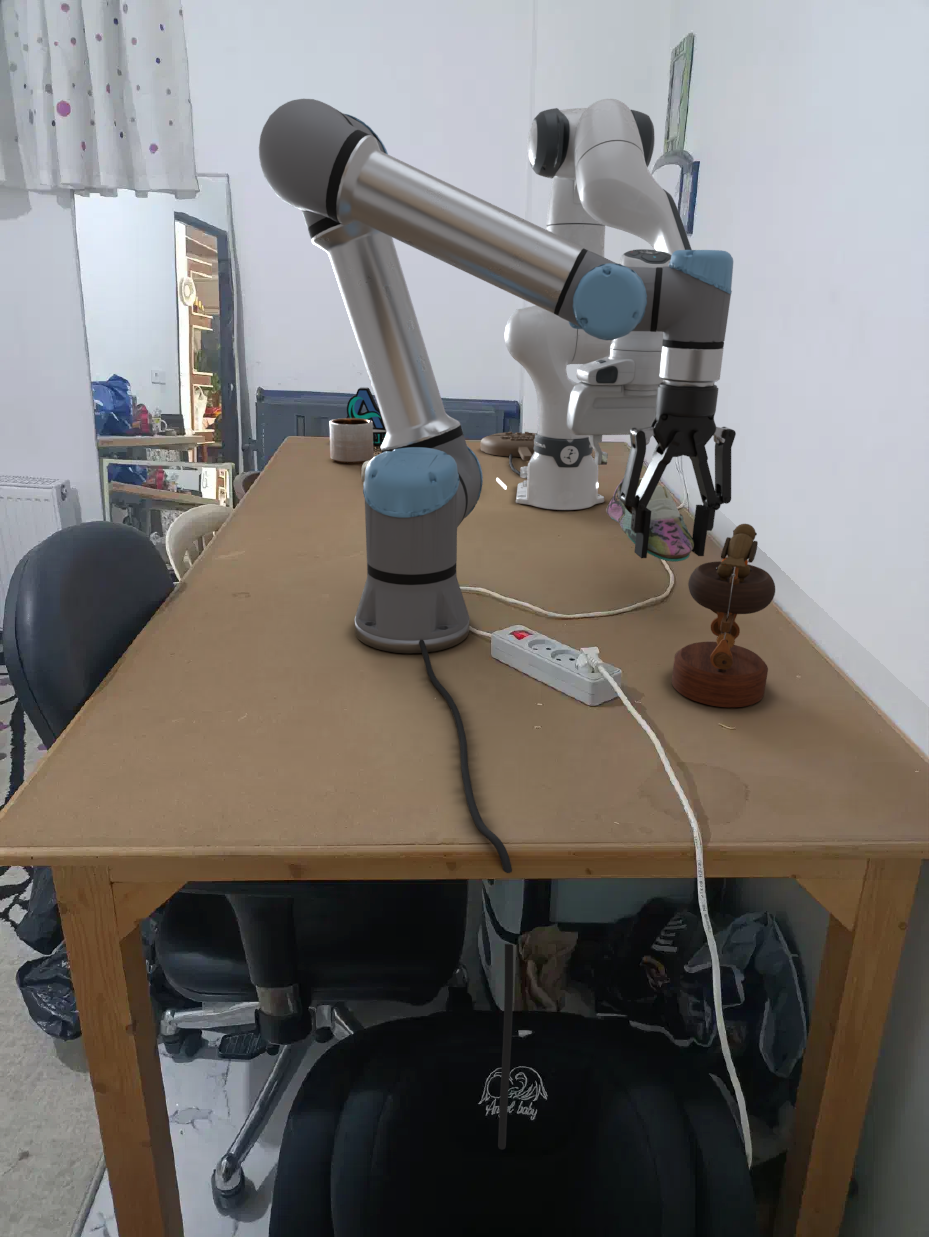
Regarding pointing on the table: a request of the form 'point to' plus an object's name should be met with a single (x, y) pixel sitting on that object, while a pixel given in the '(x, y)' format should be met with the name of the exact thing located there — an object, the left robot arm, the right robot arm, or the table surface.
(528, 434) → the ice cream bar
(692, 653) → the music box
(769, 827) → the table surface
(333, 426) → the planter
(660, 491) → the colourful slip-on shoe
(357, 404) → the decorative sign
